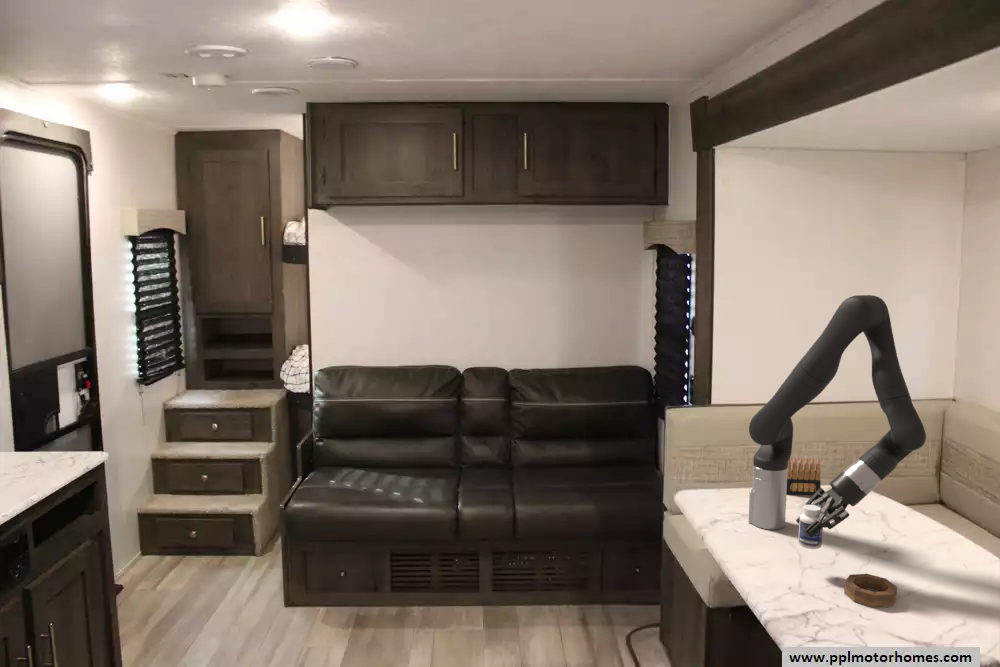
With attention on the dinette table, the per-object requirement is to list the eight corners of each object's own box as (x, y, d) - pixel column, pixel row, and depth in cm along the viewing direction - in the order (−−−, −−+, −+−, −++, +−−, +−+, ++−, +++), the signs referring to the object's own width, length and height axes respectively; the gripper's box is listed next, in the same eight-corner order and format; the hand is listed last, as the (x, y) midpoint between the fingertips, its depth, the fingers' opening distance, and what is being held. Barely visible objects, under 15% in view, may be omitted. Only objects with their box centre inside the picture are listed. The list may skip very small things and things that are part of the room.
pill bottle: (823, 550, 187) (826, 512, 185) (800, 548, 188) (802, 510, 186) (819, 541, 192) (821, 504, 190) (796, 539, 193) (798, 502, 191)
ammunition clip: (819, 494, 244) (821, 457, 242) (820, 496, 242) (822, 459, 240) (783, 492, 246) (785, 456, 244) (785, 494, 244) (786, 458, 242)
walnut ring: (840, 598, 178) (841, 586, 177) (852, 581, 185) (853, 570, 185) (888, 611, 171) (889, 599, 171) (899, 594, 179) (900, 582, 179)
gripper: (833, 462, 194) (782, 507, 196) (858, 482, 180) (804, 530, 182) (852, 482, 195) (802, 527, 197) (879, 504, 180) (825, 552, 183)
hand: (803, 528), depth 189 cm, fingers closed on pill bottle, 5 cm apart
